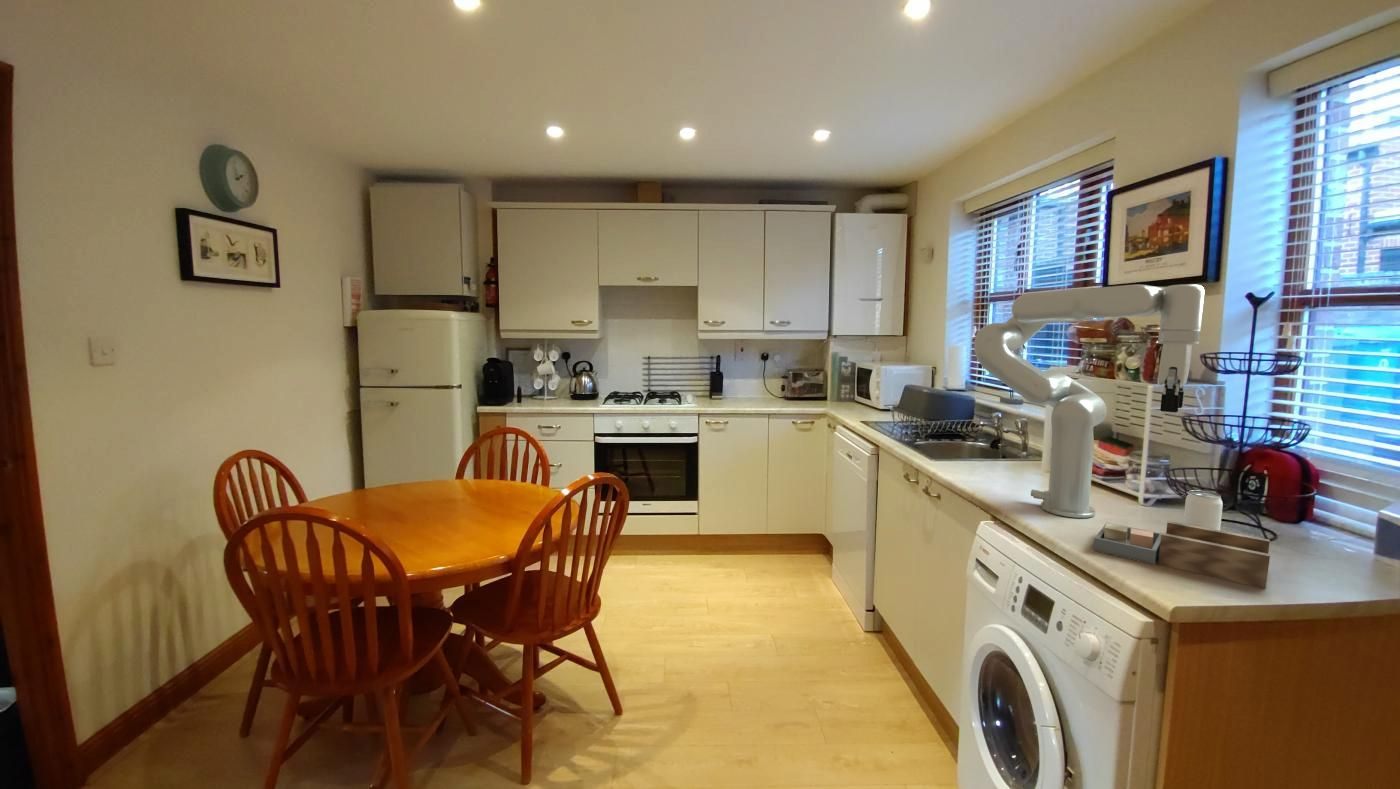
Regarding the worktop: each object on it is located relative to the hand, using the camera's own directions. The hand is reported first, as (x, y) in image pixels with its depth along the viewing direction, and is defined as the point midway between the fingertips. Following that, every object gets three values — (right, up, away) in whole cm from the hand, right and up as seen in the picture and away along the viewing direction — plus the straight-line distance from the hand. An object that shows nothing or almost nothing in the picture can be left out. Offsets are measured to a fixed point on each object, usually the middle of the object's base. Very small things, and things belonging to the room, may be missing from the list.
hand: (1171, 409), depth 140 cm
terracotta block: (-16, -29, -9) cm, 34 cm away
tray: (-16, -31, -7) cm, 36 cm away
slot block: (-5, -33, -17) cm, 37 cm away
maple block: (-18, -27, -7) cm, 33 cm away
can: (+3, -31, -4) cm, 32 cm away
